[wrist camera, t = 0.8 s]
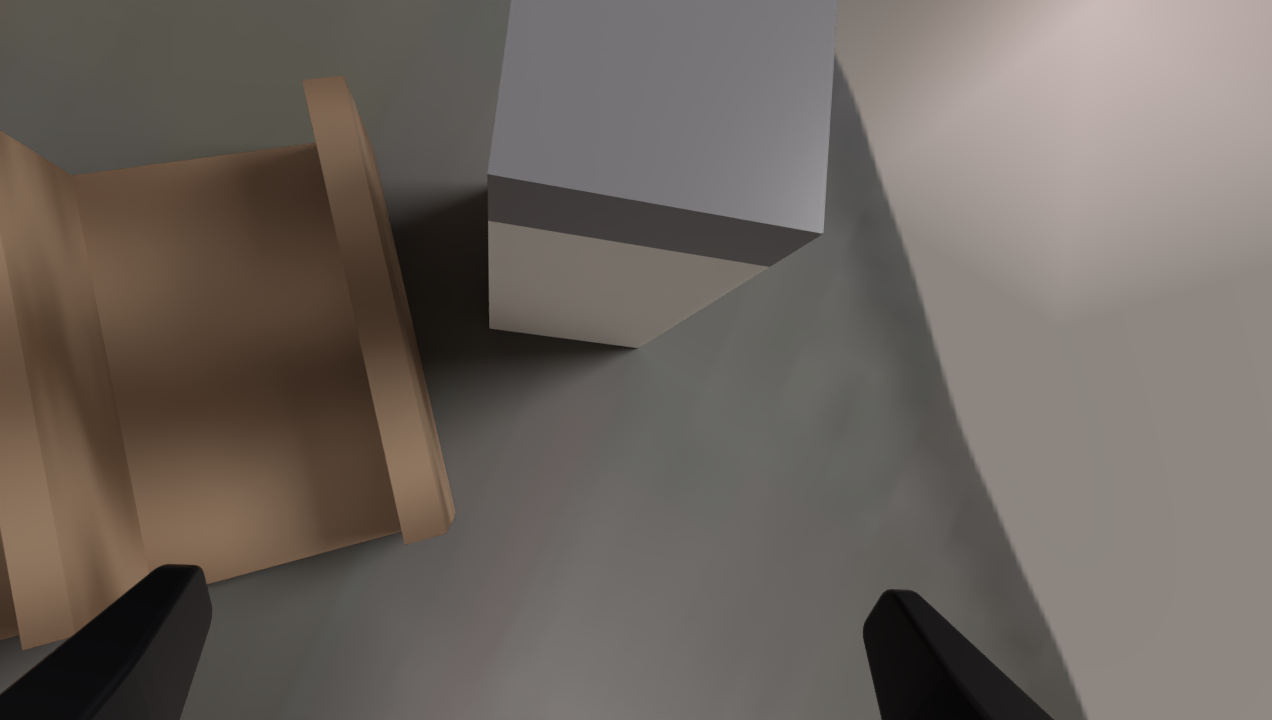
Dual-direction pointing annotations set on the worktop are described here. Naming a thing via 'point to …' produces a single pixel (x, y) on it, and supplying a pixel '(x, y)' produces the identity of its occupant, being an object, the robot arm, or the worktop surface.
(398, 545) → the worktop surface
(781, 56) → the grey piece
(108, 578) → the comb rack
